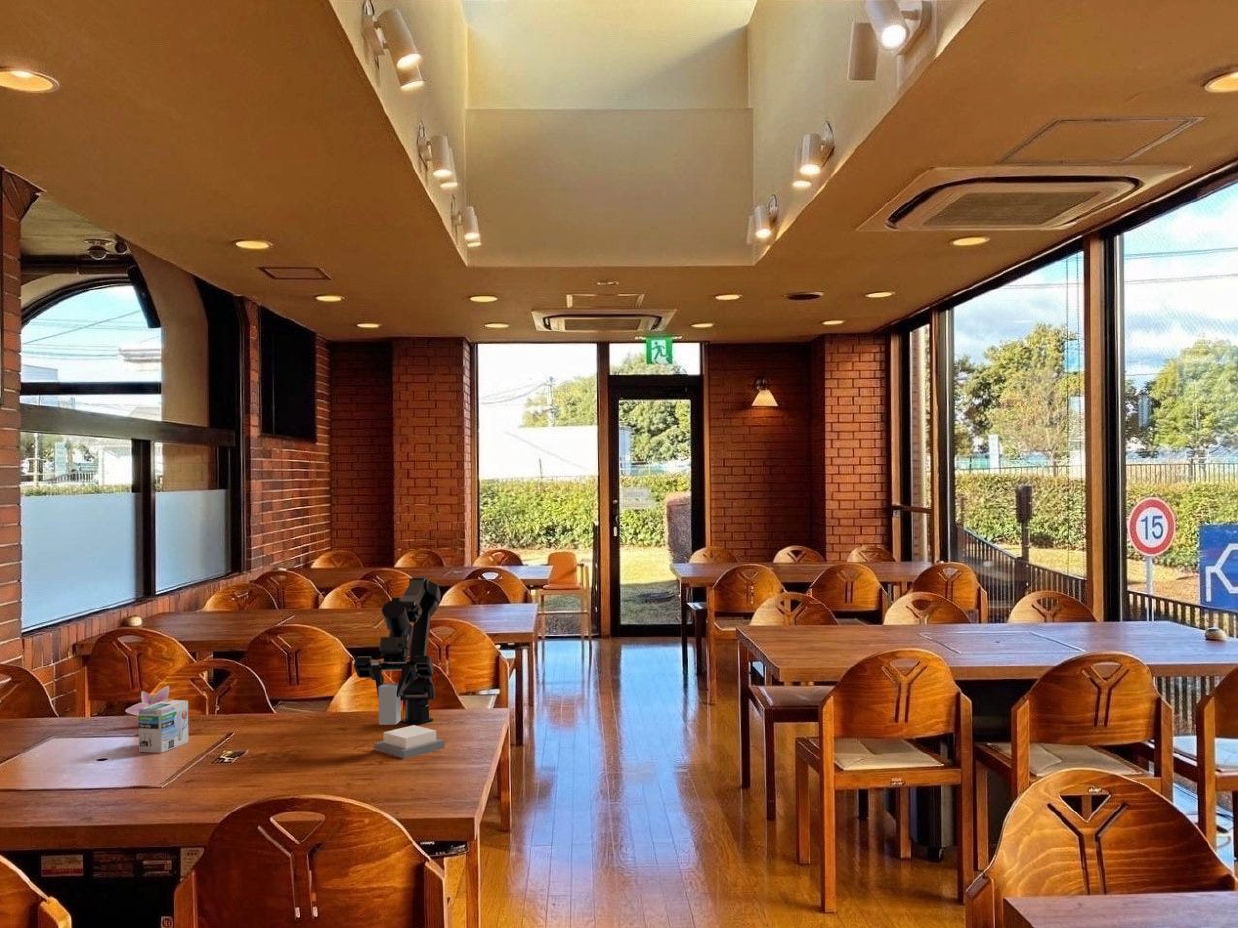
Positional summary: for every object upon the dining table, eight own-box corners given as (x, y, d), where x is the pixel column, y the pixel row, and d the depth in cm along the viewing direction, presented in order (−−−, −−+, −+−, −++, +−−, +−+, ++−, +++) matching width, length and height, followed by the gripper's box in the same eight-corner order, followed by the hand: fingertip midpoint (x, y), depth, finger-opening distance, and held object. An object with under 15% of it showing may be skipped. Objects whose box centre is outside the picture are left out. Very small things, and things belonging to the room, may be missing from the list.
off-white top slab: (383, 742, 233) (383, 732, 233) (413, 735, 240) (413, 725, 240) (405, 748, 227) (405, 738, 227) (436, 740, 234) (436, 730, 234)
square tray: (374, 753, 233) (374, 742, 233) (414, 742, 242) (414, 732, 242) (404, 761, 225) (403, 751, 225) (444, 750, 234) (444, 740, 234)
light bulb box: (161, 753, 233) (161, 709, 233) (137, 752, 235) (137, 708, 235) (189, 741, 244) (189, 699, 244) (166, 741, 245) (166, 698, 245)
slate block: (378, 724, 230) (378, 687, 230) (383, 720, 234) (383, 683, 234) (396, 724, 230) (395, 686, 230) (400, 719, 234) (400, 683, 234)
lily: (119, 731, 260) (120, 704, 256) (147, 705, 270) (148, 678, 266) (160, 745, 259) (161, 718, 255) (186, 718, 269) (187, 692, 265)
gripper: (355, 623, 236) (342, 678, 225) (430, 622, 236) (421, 676, 225) (364, 650, 244) (352, 703, 233) (437, 649, 244) (428, 702, 232)
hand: (388, 696), depth 230 cm, fingers closed on slate block, 4 cm apart
